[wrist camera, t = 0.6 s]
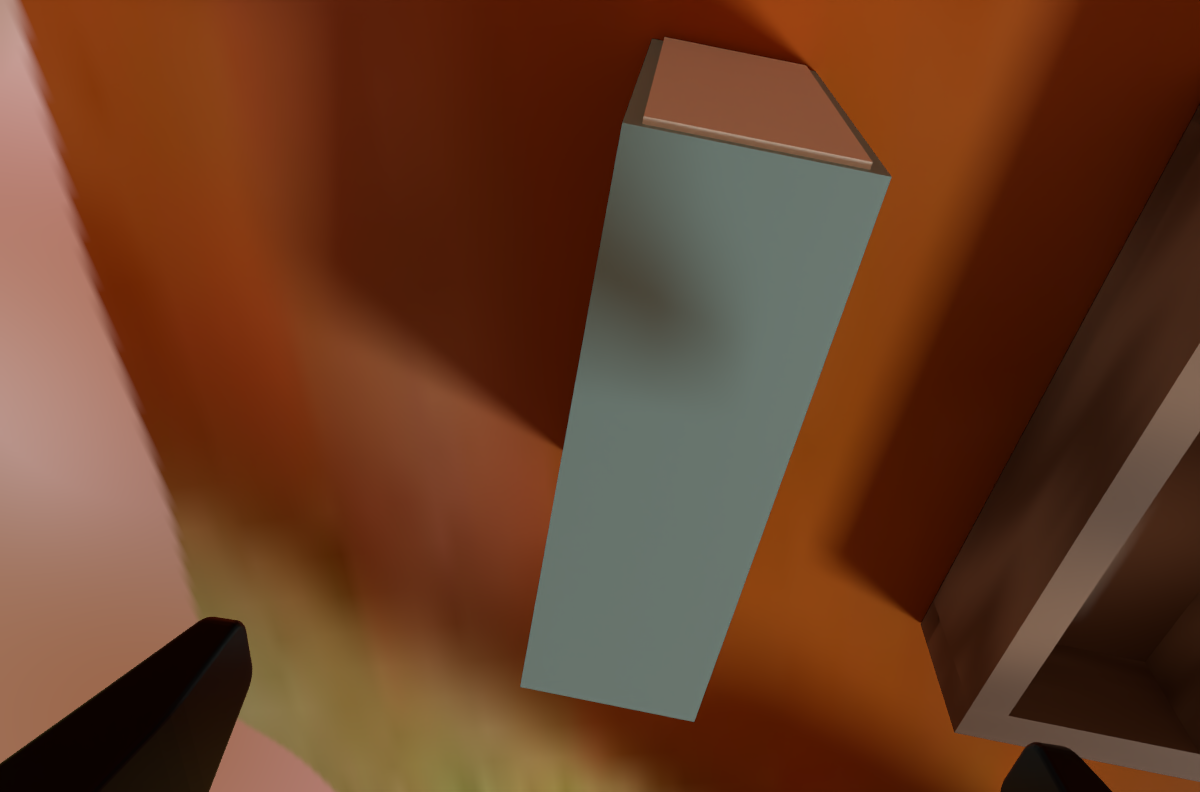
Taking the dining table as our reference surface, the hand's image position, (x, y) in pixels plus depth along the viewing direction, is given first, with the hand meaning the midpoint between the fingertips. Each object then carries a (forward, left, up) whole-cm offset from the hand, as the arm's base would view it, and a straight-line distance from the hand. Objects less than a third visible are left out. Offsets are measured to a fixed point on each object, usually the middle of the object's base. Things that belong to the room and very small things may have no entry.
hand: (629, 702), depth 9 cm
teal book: (0, 0, -13) cm, 12 cm away
